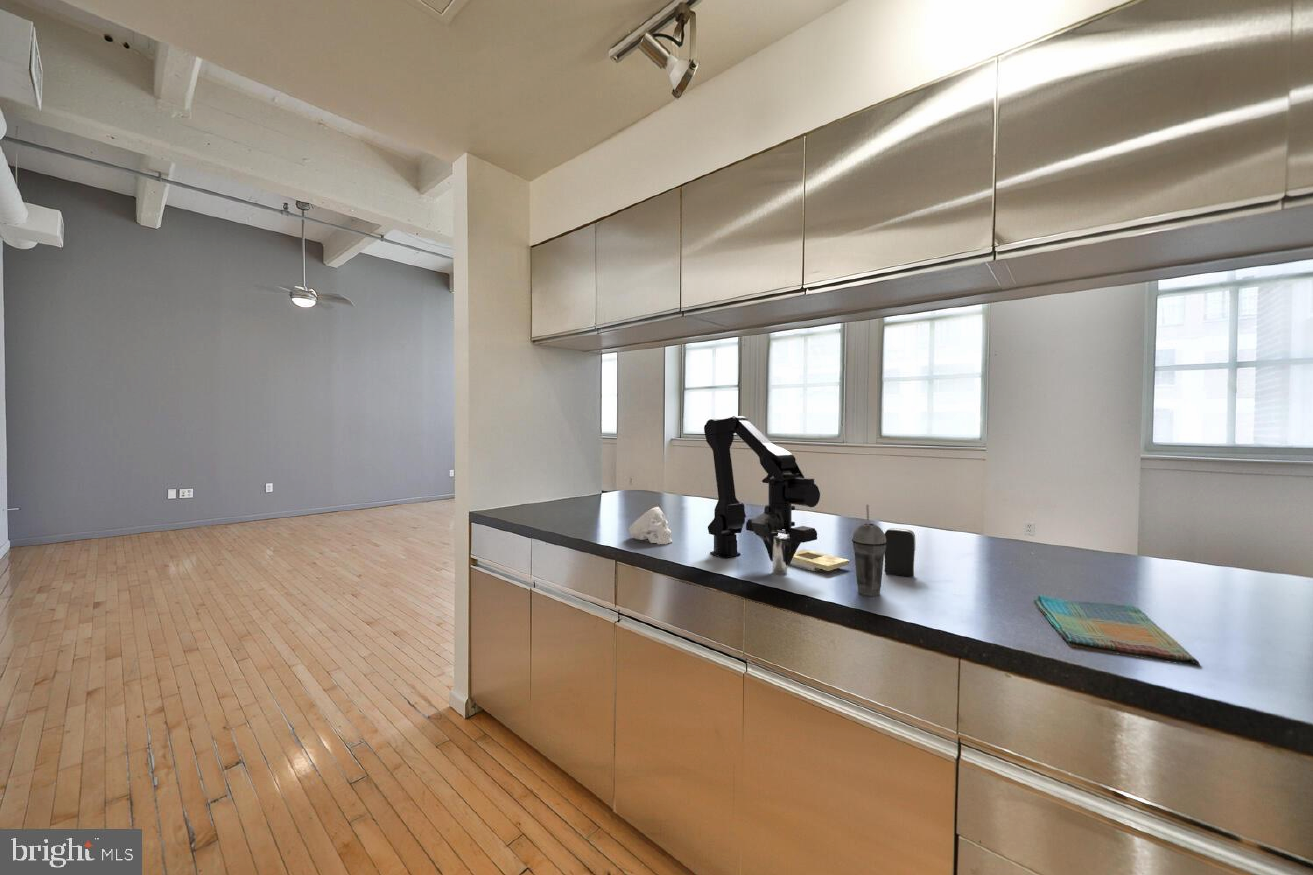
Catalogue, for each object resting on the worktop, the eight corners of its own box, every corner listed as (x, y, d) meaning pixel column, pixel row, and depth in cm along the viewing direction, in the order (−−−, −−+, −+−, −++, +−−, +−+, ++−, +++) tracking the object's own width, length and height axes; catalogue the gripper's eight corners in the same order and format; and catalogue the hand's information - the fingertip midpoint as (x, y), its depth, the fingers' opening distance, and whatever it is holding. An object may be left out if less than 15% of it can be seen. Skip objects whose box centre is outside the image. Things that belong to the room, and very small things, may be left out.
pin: (769, 572, 128) (769, 537, 128) (779, 569, 130) (779, 535, 130) (780, 575, 125) (780, 539, 125) (790, 572, 127) (790, 537, 127)
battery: (916, 574, 126) (916, 529, 125) (914, 578, 122) (914, 531, 122) (886, 569, 130) (886, 526, 129) (883, 573, 126) (883, 528, 126)
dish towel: (1139, 617, 99) (1139, 604, 99) (1203, 670, 78) (1204, 654, 78) (1032, 604, 106) (1032, 592, 106) (1064, 649, 85) (1065, 635, 85)
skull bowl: (666, 543, 154) (648, 507, 157) (636, 561, 161) (619, 527, 164) (684, 536, 162) (667, 503, 166) (654, 554, 169) (638, 521, 173)
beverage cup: (891, 592, 113) (892, 503, 112) (879, 600, 107) (880, 507, 107) (858, 585, 118) (859, 500, 117) (846, 593, 112) (846, 504, 112)
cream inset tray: (772, 559, 139) (772, 551, 139) (793, 554, 145) (793, 546, 145) (828, 575, 125) (828, 566, 125) (849, 569, 130) (849, 560, 130)
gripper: (731, 500, 130) (731, 560, 130) (788, 510, 115) (788, 577, 115) (760, 496, 137) (760, 553, 137) (818, 505, 122) (818, 569, 122)
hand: (779, 562), depth 128 cm, fingers open, 5 cm apart
